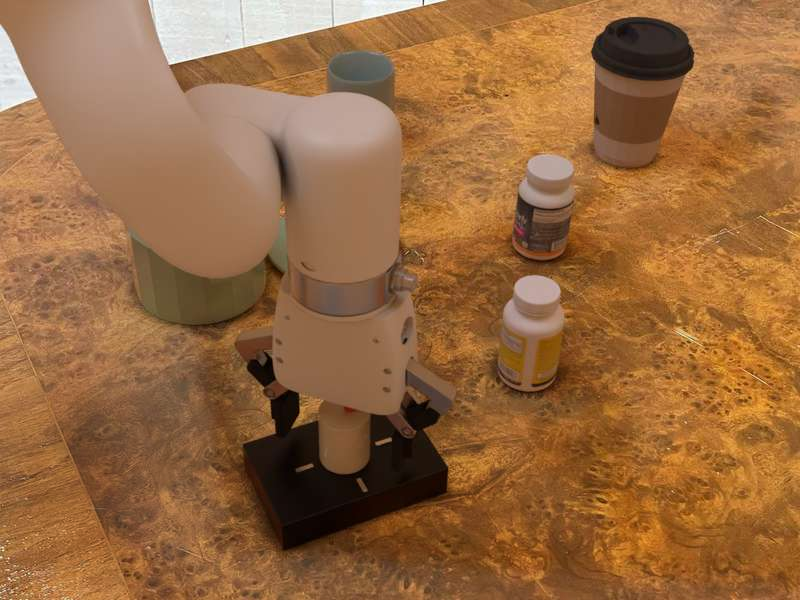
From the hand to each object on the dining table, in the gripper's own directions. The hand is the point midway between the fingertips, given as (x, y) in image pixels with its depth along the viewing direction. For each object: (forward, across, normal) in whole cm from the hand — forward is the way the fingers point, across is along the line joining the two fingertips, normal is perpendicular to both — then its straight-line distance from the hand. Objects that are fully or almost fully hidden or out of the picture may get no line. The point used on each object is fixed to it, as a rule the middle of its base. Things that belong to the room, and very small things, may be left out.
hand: (344, 441), depth 84 cm
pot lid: (+4, +13, -28) cm, 31 cm away
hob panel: (+5, 0, 0) cm, 5 cm away
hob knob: (+2, 0, 0) cm, 2 cm away
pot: (+5, +23, -18) cm, 30 cm away
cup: (+5, +18, -49) cm, 52 cm away
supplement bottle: (+5, -11, -18) cm, 21 cm away
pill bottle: (+5, -7, -37) cm, 38 cm away
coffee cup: (+5, -12, -59) cm, 60 cm away
